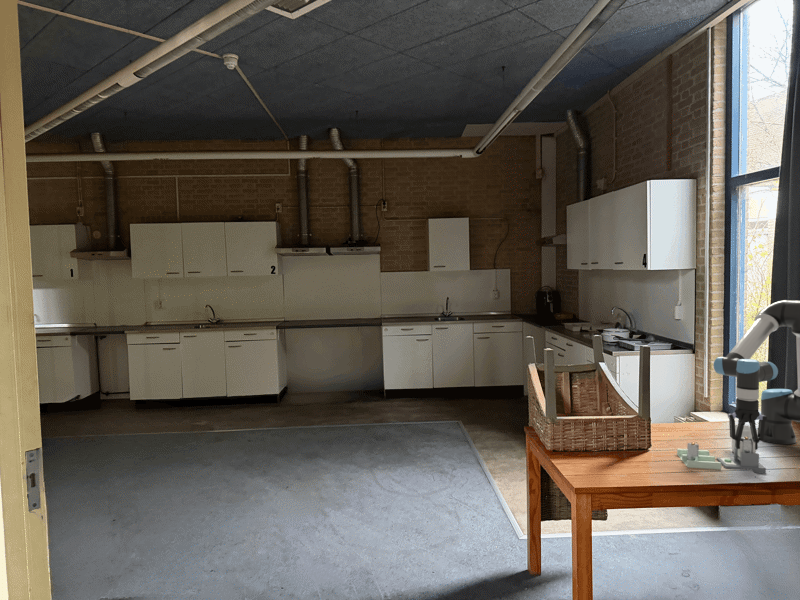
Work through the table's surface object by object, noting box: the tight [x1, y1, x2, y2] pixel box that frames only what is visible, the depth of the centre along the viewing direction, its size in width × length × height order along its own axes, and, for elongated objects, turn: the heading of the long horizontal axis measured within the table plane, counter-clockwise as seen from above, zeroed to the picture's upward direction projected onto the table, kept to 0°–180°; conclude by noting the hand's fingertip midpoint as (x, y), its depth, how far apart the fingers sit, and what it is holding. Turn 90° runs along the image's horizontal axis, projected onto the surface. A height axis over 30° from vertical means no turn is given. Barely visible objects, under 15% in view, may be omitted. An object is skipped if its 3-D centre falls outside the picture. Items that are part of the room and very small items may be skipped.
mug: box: [731, 424, 758, 453], centre depth 231 cm, size 12×9×11 cm
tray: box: [676, 448, 722, 470], centre depth 219 cm, size 12×15×4 cm
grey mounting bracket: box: [716, 447, 767, 474], centre depth 215 cm, size 14×10×7 cm
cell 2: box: [740, 437, 752, 453], centre depth 214 cm, size 4×4×9 cm
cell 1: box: [686, 442, 700, 461], centre depth 217 cm, size 4×4×9 cm
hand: (746, 456), depth 214 cm, fingers closed on cell 2, 4 cm apart
